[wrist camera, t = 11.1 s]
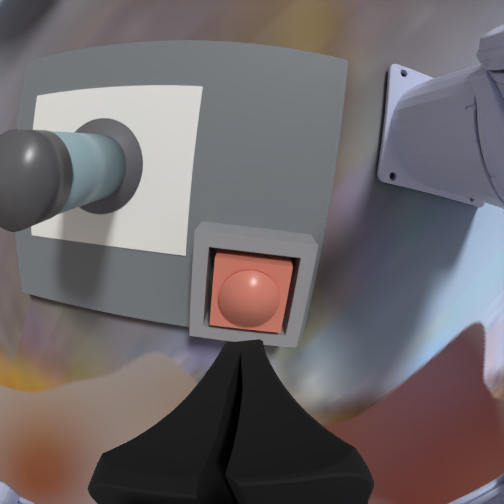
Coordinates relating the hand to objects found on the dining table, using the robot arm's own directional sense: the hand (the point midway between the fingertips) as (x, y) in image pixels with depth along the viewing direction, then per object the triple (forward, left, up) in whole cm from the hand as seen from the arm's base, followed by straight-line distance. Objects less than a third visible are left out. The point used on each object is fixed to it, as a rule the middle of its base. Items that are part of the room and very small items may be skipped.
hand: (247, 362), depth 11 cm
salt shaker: (+10, -6, -8) cm, 14 cm away
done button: (0, 0, -8) cm, 8 cm away
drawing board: (+7, -5, -9) cm, 13 cm away
